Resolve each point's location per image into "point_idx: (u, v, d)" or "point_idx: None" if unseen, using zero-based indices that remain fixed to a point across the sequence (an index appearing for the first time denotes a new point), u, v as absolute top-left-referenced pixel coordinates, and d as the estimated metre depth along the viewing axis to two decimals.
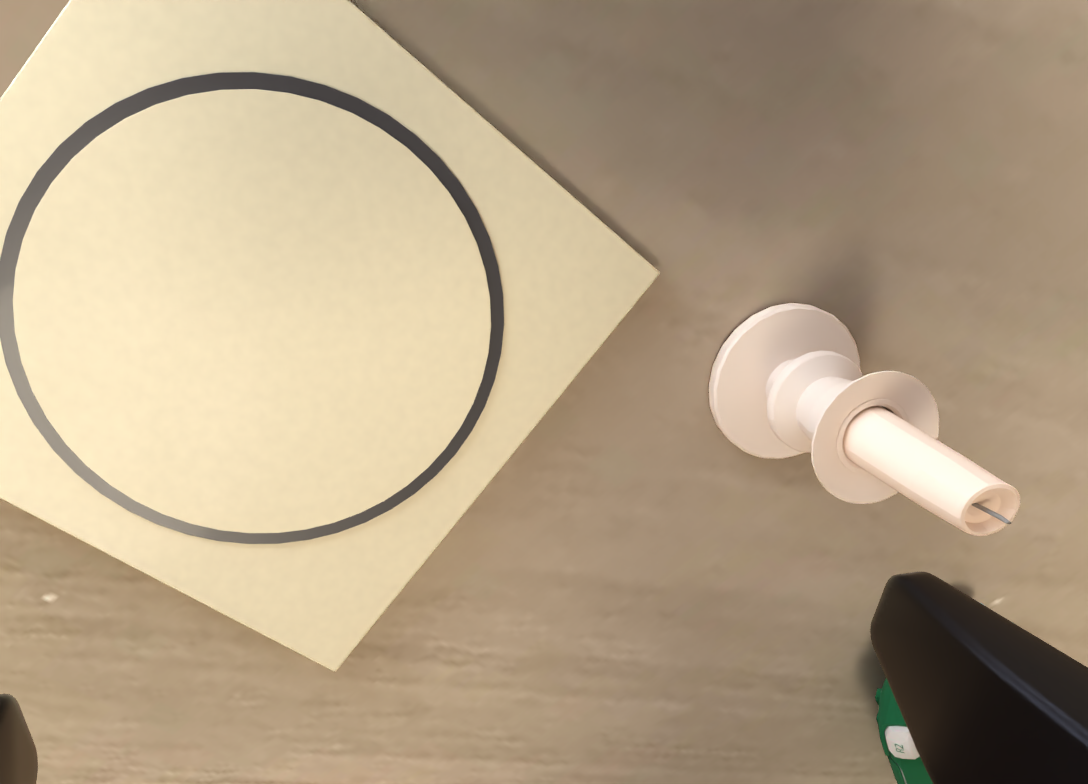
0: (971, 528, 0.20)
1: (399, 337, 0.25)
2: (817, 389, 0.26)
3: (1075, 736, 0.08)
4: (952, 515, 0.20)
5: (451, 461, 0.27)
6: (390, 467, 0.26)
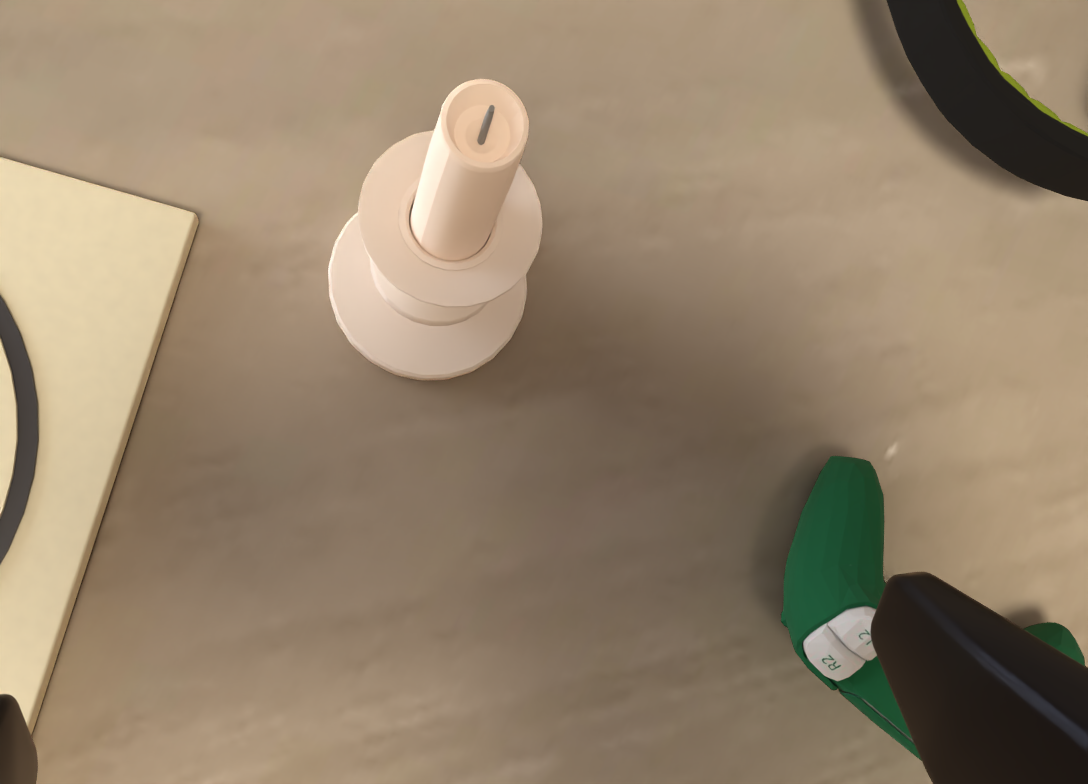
0: (482, 162, 0.14)
1: None
2: None
3: (1075, 736, 0.08)
4: (447, 157, 0.14)
5: (22, 525, 0.20)
6: None
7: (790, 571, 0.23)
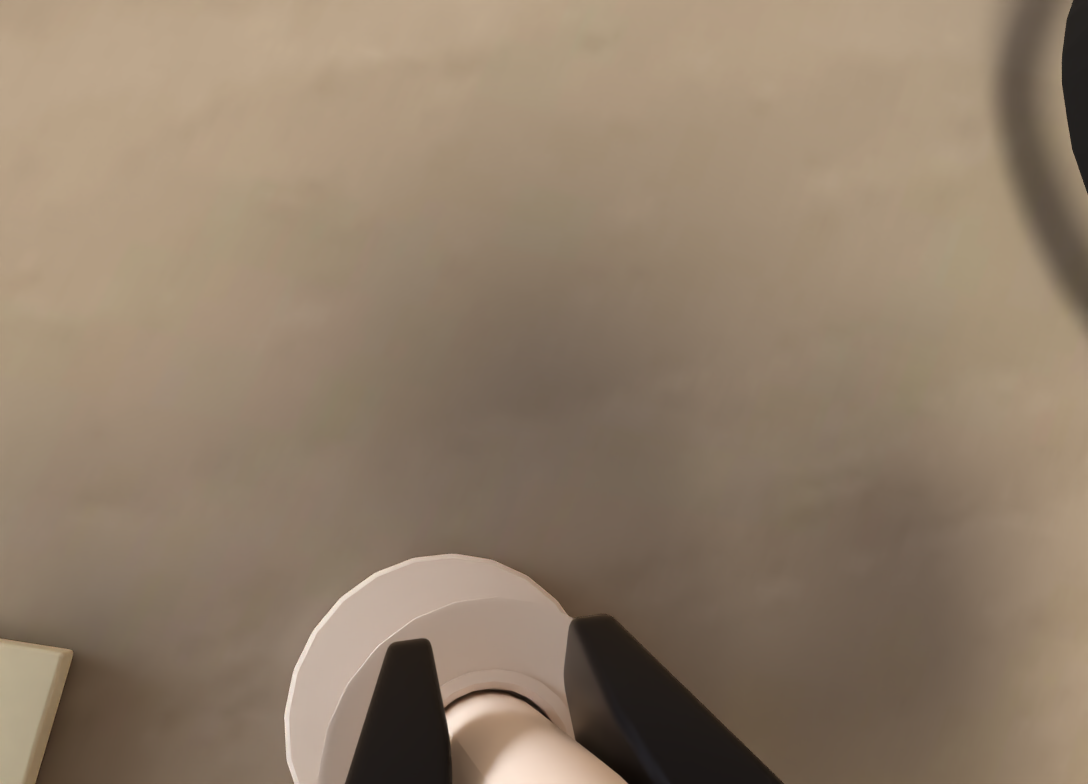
0: None
1: None
2: None
3: None
4: None
5: None
6: None
7: None
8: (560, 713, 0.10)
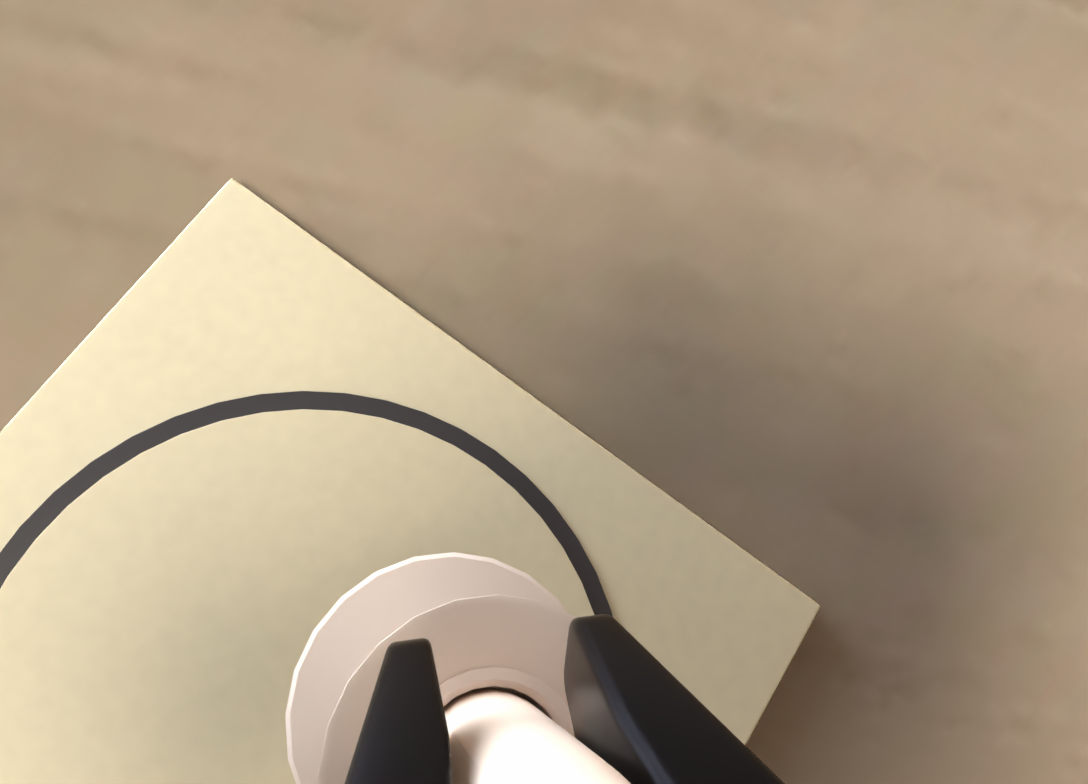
0: None
1: None
2: None
3: None
4: None
5: None
6: None
7: None
8: (560, 710, 0.10)
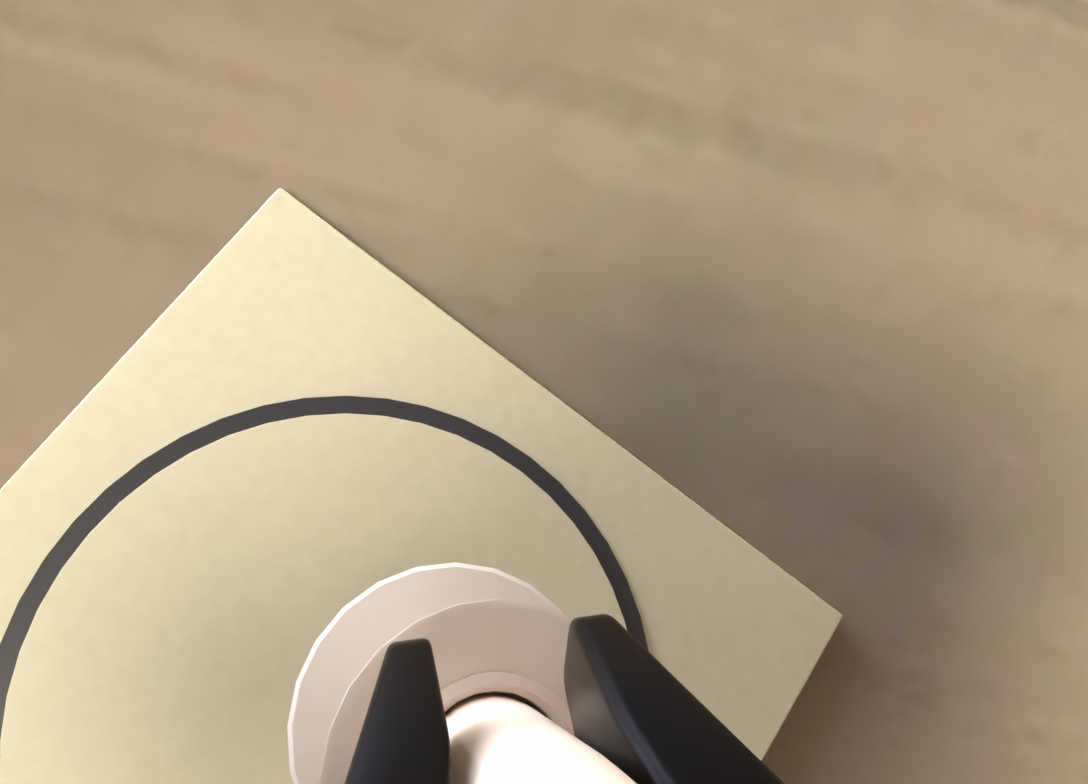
0: None
1: None
2: None
3: None
4: None
5: None
6: None
7: None
8: (562, 715, 0.10)
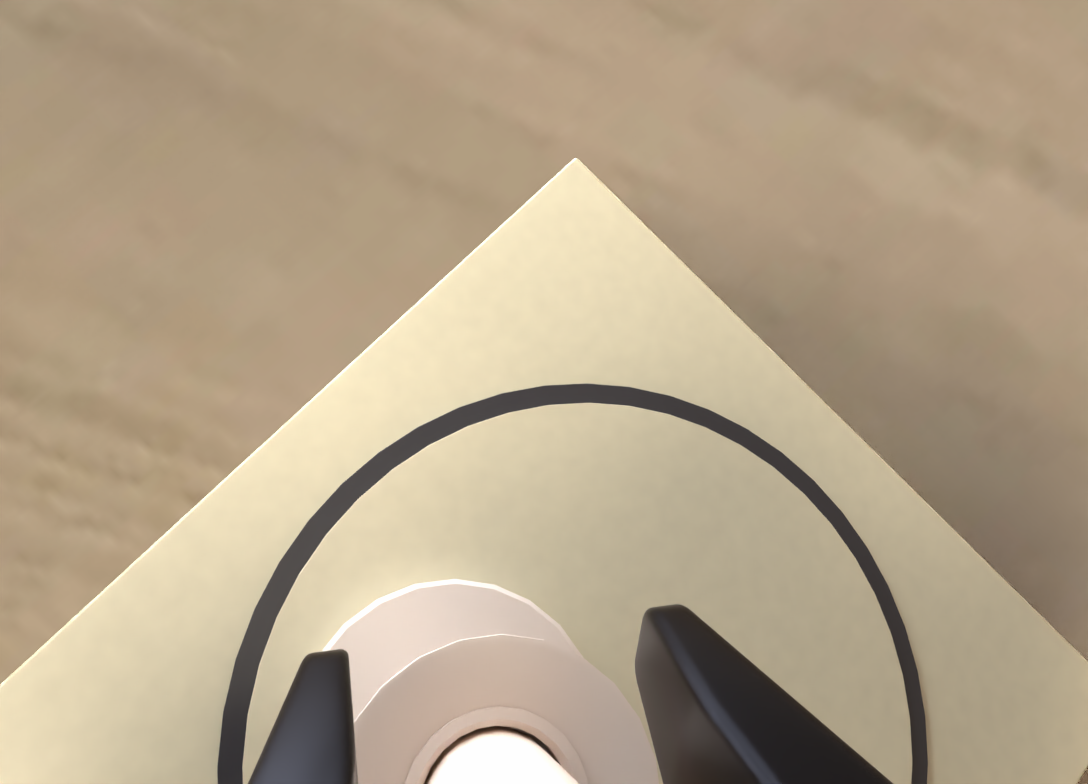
0: None
1: None
2: None
3: None
4: None
5: None
6: None
7: None
8: (564, 750, 0.11)
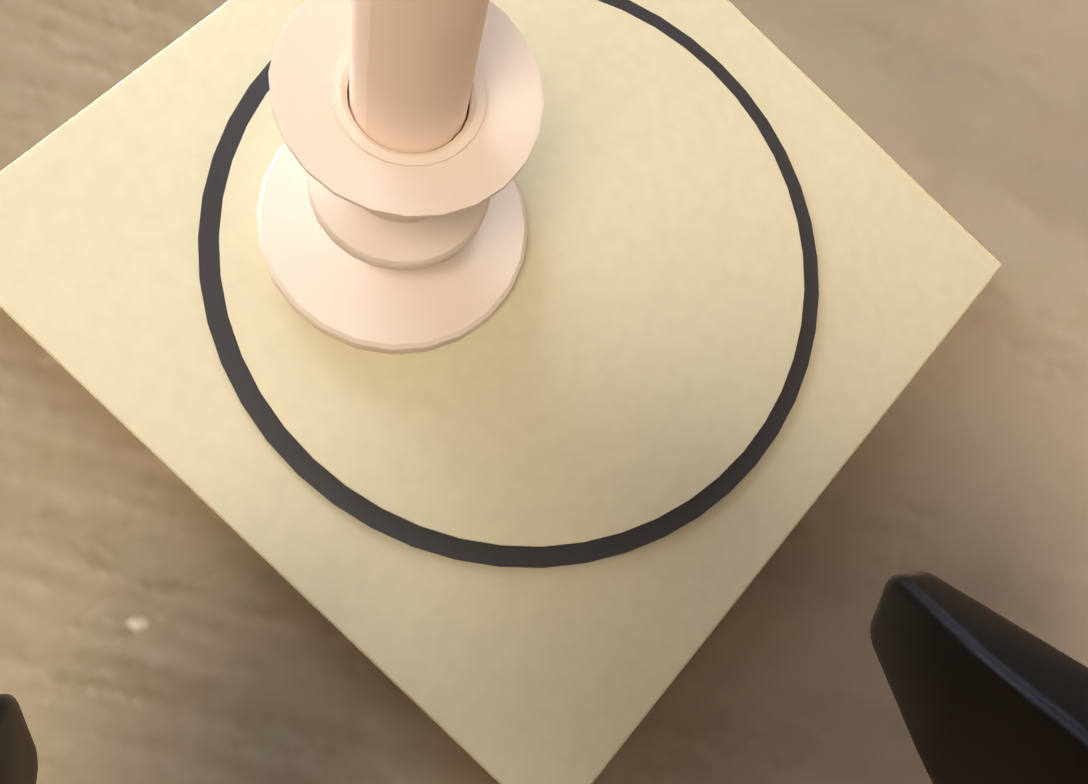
0: None
1: (690, 287, 0.19)
2: None
3: (1075, 736, 0.08)
4: None
5: (749, 476, 0.18)
6: (668, 466, 0.18)
7: None
8: None
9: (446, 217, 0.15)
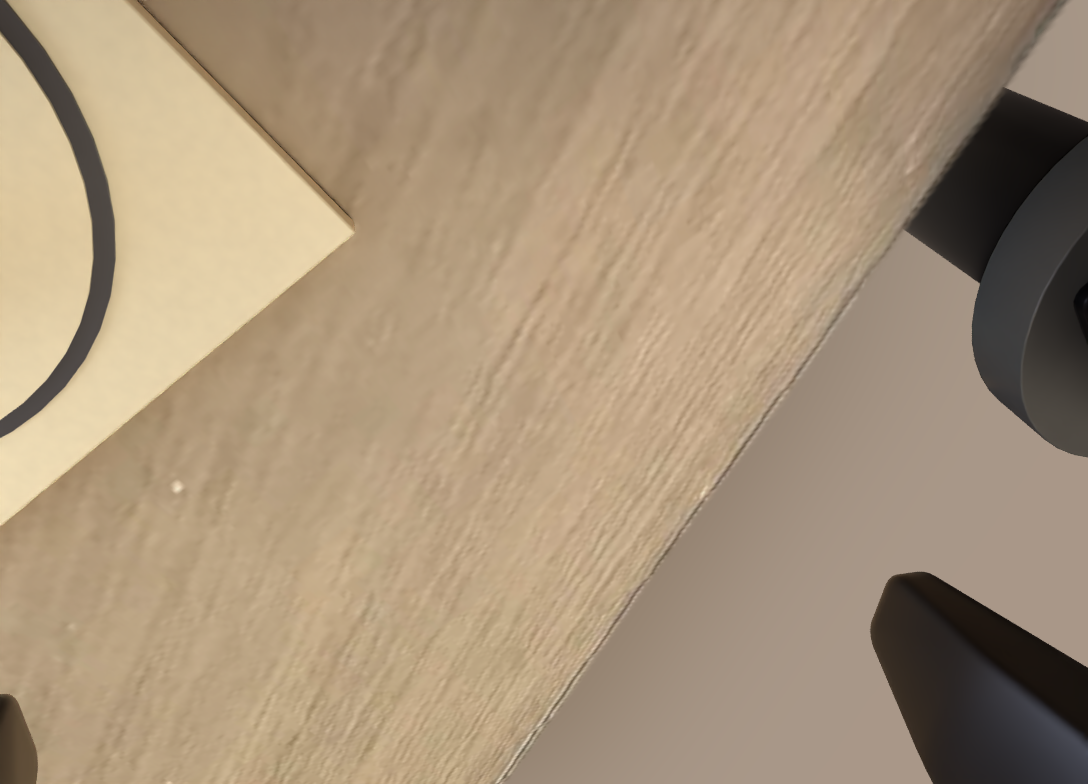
0: None
1: None
2: None
3: (1075, 736, 0.08)
4: None
5: None
6: None
7: None
8: None
9: None
